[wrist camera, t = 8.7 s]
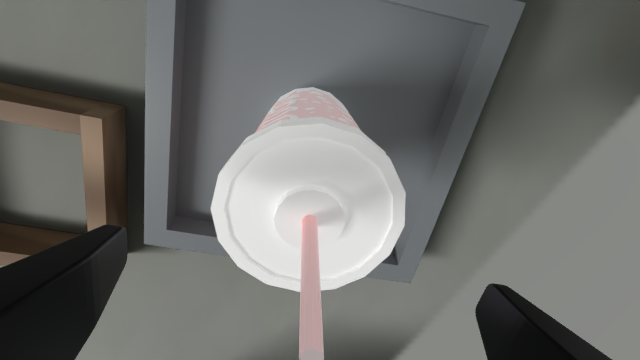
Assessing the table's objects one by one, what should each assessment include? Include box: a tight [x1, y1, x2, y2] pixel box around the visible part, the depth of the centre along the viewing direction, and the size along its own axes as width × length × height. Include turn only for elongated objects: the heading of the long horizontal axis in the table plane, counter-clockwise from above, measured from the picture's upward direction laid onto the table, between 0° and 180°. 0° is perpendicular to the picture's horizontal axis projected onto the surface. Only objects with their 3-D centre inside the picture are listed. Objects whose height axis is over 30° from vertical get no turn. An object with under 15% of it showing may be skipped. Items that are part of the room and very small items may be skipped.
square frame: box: [0, 82, 128, 266], centre depth 20 cm, size 10×10×2 cm
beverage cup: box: [211, 87, 406, 360], centre depth 13 cm, size 6×6×14 cm
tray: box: [144, 0, 526, 284], centre depth 19 cm, size 16×16×2 cm
